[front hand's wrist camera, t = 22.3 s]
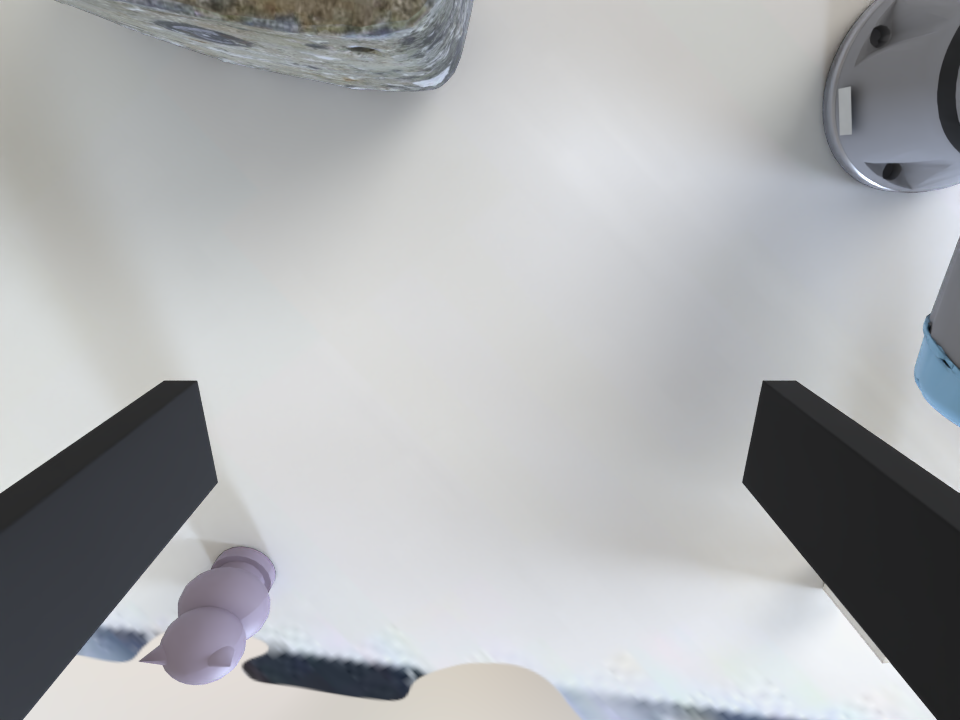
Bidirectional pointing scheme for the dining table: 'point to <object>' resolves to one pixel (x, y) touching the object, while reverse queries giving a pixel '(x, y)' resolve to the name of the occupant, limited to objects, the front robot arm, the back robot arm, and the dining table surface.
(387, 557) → the dining table surface
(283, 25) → the concrete block
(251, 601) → the cat figurine
